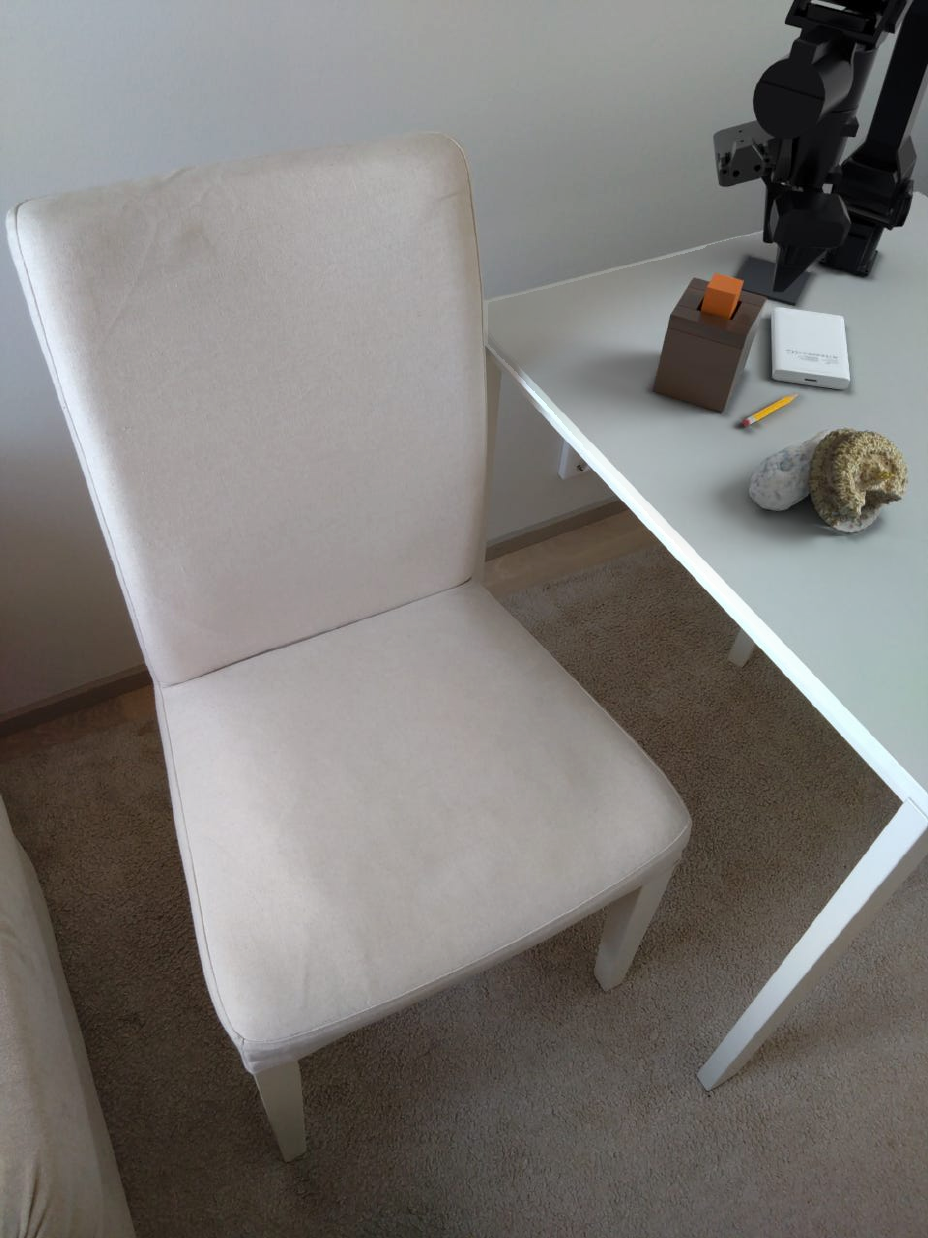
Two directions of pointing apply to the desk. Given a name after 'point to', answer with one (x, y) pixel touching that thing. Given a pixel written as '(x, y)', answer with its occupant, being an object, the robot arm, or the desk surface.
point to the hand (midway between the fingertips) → (772, 266)
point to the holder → (706, 348)
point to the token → (722, 296)
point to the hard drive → (809, 348)
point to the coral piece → (855, 478)
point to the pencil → (768, 410)
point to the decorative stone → (784, 476)
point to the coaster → (769, 281)
